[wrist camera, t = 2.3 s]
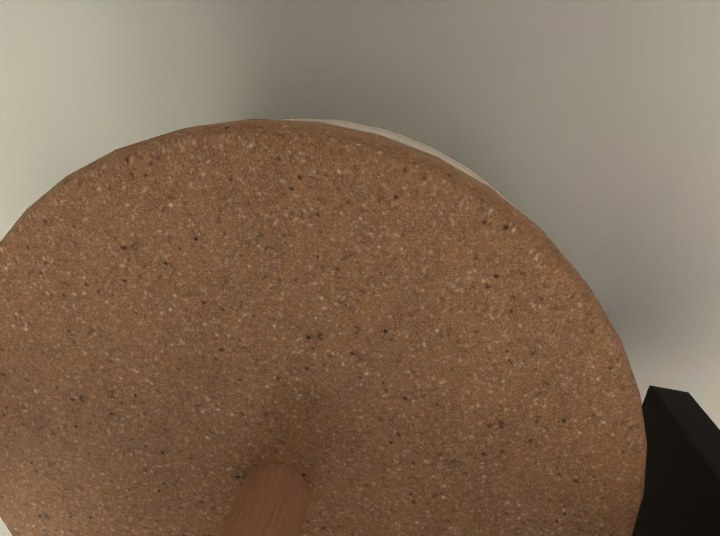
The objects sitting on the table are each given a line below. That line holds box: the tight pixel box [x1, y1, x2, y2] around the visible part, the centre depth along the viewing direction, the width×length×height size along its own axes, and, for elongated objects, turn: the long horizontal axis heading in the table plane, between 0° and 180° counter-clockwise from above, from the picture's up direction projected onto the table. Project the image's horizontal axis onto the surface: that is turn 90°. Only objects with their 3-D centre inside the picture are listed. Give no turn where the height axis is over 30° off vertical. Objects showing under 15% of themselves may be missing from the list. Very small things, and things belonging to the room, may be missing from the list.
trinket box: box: [0, 118, 647, 536], centre depth 11 cm, size 11×11×9 cm
